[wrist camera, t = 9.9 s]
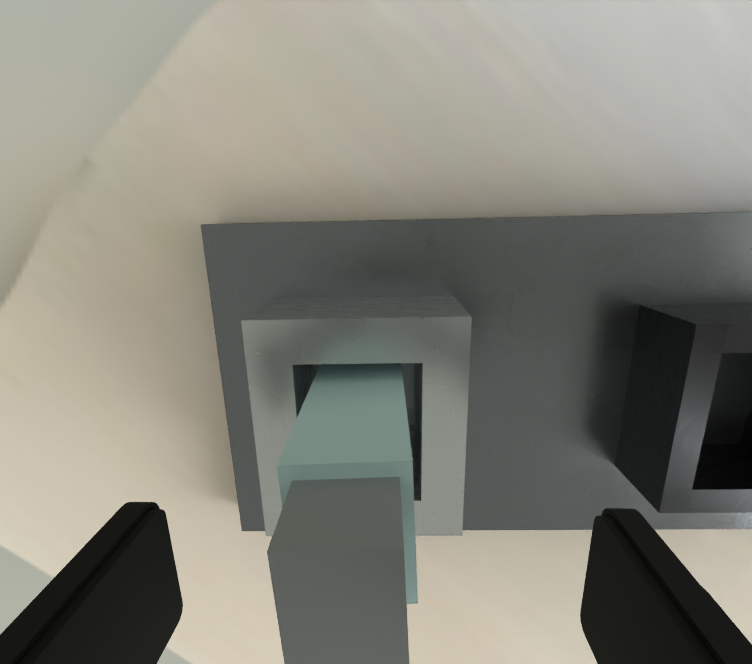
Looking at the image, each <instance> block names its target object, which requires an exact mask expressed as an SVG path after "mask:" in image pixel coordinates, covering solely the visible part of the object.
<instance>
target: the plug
mask: <svg viewBox="0 0 752 664" xmlns="http://www.w3.org/2000/svg"><path fill="white" fill-rule="evenodd" d="M276 466H277V473H278V480H279V487H280V495H281V502H282V511H281V514H280V516H279V519H278V522H277V525H276V528H275V531H274V534H273V536H272V539H271V542H270V545H269V548H268V551H267V554H268V560H269V567H270V573H271V579H272V586H273V592H274V599H275V605H276V611H277V618H278V624H279V630H280V637H281V643H282V650H283V656H284V662H285V664H409V650H408V627H407V605H406V604H415V603H418V599H417V570H416V542H415V513H414V485H413V459H412V451H411V442H410V434H409V425H408V417H407V409H406V400H405V392H404V383H403V375H402V367H401V363H378V364H320V366H319V368H318V371H317V373H316V375H315V377H314V380H313V382H312V384H311V387H310V389H309V391H308V394H307V396H306V398H305V401H304V403H303V405H302V408H301V410H300V412H299V415H298V417H297V419H296V421H295V424H294V426H293V428H292V431H291V433H290V435H289V438H288V440H287V442H286V445H285V447H284V449H283V452H282V454H281V456H280V458H279V461H278V463H277V465H276Z"/></svg>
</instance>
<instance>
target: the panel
mask: <svg viewBox="0 0 752 664" xmlns="http://www.w3.org/2000/svg"><path fill="white" fill-rule="evenodd" d="M201 229H202V237H203V244H204V252H205V259H206V267H207V274H208V281H209V289H210V296H211V304H212V311H213V319H214V326H215V334H216V341H217V348H218V356H219V363H220V371H221V378H222V386H223V393H224V401H225V408H226V415H227V423H228V430H229V438H230V445H231V453H232V460H233V468H234V475H235V483H236V490H237V497H238V505H239V512H240V520H241V527H242V531H265V532H266V536H273V534H274V531H275V528H276V525H277V522H278V519H279V516H280V514H281V511H282V502H281V495H280V487H279V480H278V473H277V466H276V465H277V463H278V461H279V458H280V456H281V454H282V452H283V449H284V447H285V445H286V442H287V440H288V438H289V435H290V433H291V431H292V428H293V426H294V424H295V421H296V419H297V417H298V415H299V412H300V410H301V408H302V405H303V403H304V401H305V398H306V396H307V394H308V391H309V389H310V387H311V384H312V382H313V380H314V377H315V375H316V373H317V371H318V368H319V366H320V364H378V363H401V367H402V375H403V383H404V392H405V400H406V409H407V417H408V425H409V434H410V442H411V451H412V459H413V485H414V513H415V536H437V535H462V530H593V524H594V519H595V517H596V516H601V515H602V511H603V510H604V509H606V508H632V509H636V510H637V511H639V512H640V513H641V514H642V516H643V517H644V518H645V519H646V521H647V522H648V523H649V524H650V525H651V527H652V528H653V529H752V212H729V213H685V214H640V215H595V216H550V217H505V218H460V219H415V220H371V221H326V222H281V223H236V224H202V225H201Z"/></svg>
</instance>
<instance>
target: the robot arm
mask: <svg viewBox="0 0 752 664" xmlns="http://www.w3.org/2000/svg"><path fill="white" fill-rule="evenodd" d="M182 607H183V603H182V597H181V592H180V586H179V581H178V576H177V571H176V565H175V560H174V555H173V550H172V545H171V539H170V534H169V529H168V524H167V518H166V514H165V512H164V510H161V509H159V506H158V505H157V504H156V503H154V502H128V503H126V504H124V505H123V506H122V507H121V508H120V509H119V510H118V511H117V512H116V513H115V514H114V515H113V516H112V518H111V519H110V520H109V521H108V522H107V523H106V524H105V525H104V526H103V527H102V528H101V529H100V530H99V531H98V532H97V533H96V534H95V535H94V537H93V538H92V539H91V540H90V541H89V542H88V543H87V544H86V545H85V546H84V547H83V548H82V549H81V550H80V551H79V552H78V553H77V554H76V555H75V557H74V558H73V559H72V560H71V561H70V562H69V563H68V564H67V565H66V566H65V567H64V568H63V569H62V570H61V571H60V572H59V573H58V574H57V576H56V577H55V578H54V579H53V580H52V581H51V582H50V583H49V584H48V585H47V586H46V587H45V588H44V589H43V590H42V592H40V594H39V595H38V596H37V597H36V598H35V599H34V600H33V601H32V602H31V603H30V604H29V605H28V606H27V607H26V608H25V609H24V610H23V612H21V614H20V615H19V616H18V617H17V618H16V619H15V620H14V621H13V622H12V623H11V624H10V625H9V626H8V627H7V628H6V629H5V631H3V633H2V634H1V635H0V664H157V662H158V660H159V658H160V656H161V654H162V652H163V650H164V649H165V647H166V645H167V643H168V641H169V639H170V638H171V636H172V634H173V632H174V630H175V628H176V626H177V625H178V622H179V620H180V617H181V614H182ZM580 617H581V624H582V628H583V631H584V634H585V637H586V639H587V641H588V643H589V645H590V647H591V650H592V652H593V654H594V656H595V659H596V661H597V663H598V664H752V644H751V643H750V642H749V641H748V640H747V638H746V637H745V636H744V635H743V634H742V633H741V631H740V630H739V629H738V628H737V627H736V625H735V624H734V623H733V622H732V621H731V619H730V618H729V617H728V616H727V615H726V613H725V612H724V611H723V610H722V609H721V607H720V606H719V605H718V604H717V603H716V601H715V600H714V599H713V598H712V597H711V595H710V594H709V593H708V592H707V591H706V590H705V589H704V588H703V587H702V586H701V585H700V584H699V583H698V582H697V581H696V579H695V578H694V577H693V576H692V575H691V573H690V572H689V571H688V570H687V569H686V567H685V566H684V565H683V564H682V563H681V561H680V560H679V559H678V558H677V557H676V555H675V554H674V553H673V552H672V551H671V549H670V548H669V547H668V546H667V545H666V543H665V542H664V541H663V540H662V539H661V537H660V536H659V535H658V534H657V533H656V531H655V530H654V529H653V528H652V527H651V525H650V524H649V523H648V522H647V521H646V519H645V518H644V517H643V516H642V514H641V513H640V512H639V511H637V510H636V509H632V508H606V509H604V510H603V511H602V515H601V516H596V517H595V519H594V524H593V531H592V537H591V544H590V551H589V558H588V565H587V572H586V578H585V585H584V592H583V599H582V606H581V614H580Z"/></svg>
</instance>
